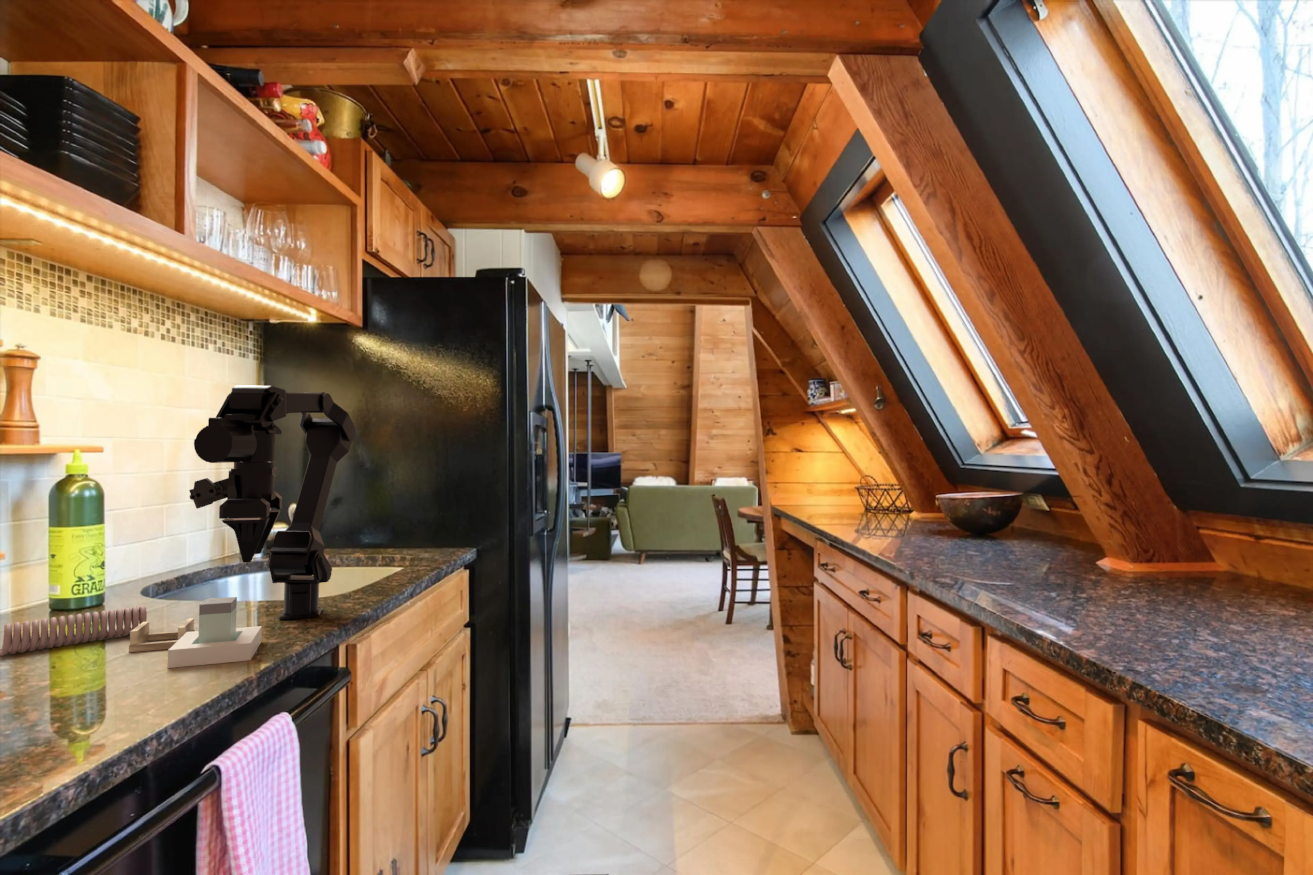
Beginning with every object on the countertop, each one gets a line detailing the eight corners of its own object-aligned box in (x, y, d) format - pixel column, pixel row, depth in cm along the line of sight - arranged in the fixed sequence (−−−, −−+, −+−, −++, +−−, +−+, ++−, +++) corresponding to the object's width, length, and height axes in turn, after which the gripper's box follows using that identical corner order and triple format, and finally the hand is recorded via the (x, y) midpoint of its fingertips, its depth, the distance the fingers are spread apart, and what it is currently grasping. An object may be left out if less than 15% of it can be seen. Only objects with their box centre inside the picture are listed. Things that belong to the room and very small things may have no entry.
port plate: (186, 648, 102) (187, 631, 102) (261, 641, 106) (261, 625, 106) (167, 668, 93) (168, 650, 93) (250, 660, 97) (250, 642, 97)
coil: (145, 603, 113) (-3, 623, 100) (152, 605, 110) (0, 625, 97) (145, 631, 113) (-4, 655, 99) (152, 633, 110) (-1, 658, 96)
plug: (204, 651, 101) (206, 598, 101) (235, 649, 102) (236, 596, 102) (198, 659, 97) (199, 604, 97) (230, 656, 98) (231, 602, 99)
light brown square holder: (143, 640, 106) (144, 621, 106) (194, 635, 109) (194, 617, 109) (128, 652, 100) (129, 632, 100) (183, 647, 103) (183, 627, 103)
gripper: (209, 460, 114) (207, 551, 114) (179, 463, 97) (176, 570, 97) (283, 461, 118) (281, 548, 118) (267, 463, 101) (264, 566, 101)
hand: (252, 557), depth 108 cm, fingers open, 9 cm apart
